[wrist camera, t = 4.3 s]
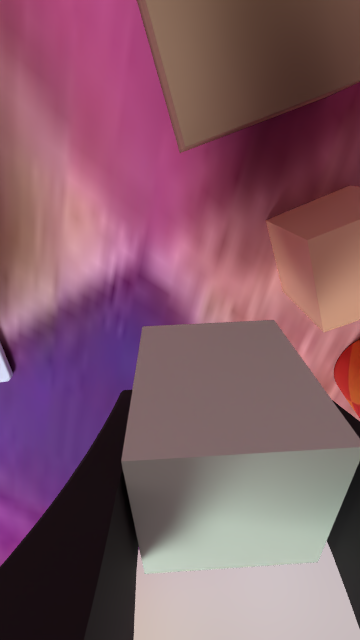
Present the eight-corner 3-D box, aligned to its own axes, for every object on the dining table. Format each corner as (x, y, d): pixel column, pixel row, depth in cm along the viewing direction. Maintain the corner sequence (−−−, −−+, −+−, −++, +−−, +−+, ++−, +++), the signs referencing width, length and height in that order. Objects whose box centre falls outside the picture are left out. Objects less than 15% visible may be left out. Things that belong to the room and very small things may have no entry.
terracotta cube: (282, 291, 17) (323, 332, 13) (265, 220, 15) (307, 240, 11) (356, 263, 17) (426, 296, 12) (348, 185, 15) (429, 191, 10)
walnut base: (179, 153, 14) (185, 146, 10) (120, -55, 10) (99, -171, 7) (323, 98, 13) (383, 70, 9) (308, -144, 10) (391, -325, 6)
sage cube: (153, 420, 12) (144, 574, 7) (142, 326, 9) (121, 461, 5) (260, 414, 12) (317, 562, 7) (273, 319, 10) (365, 446, 5)
